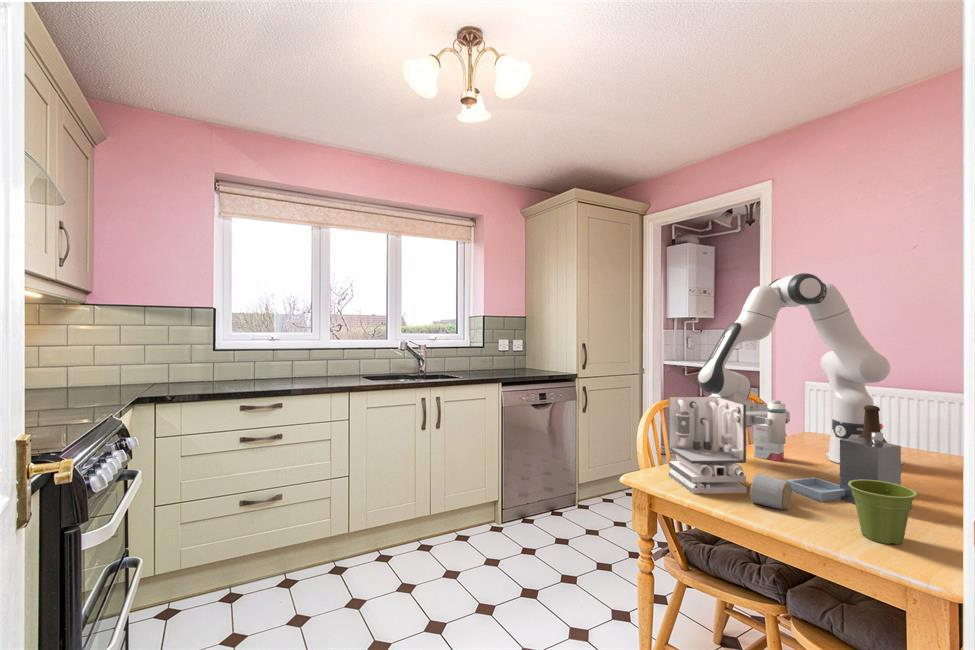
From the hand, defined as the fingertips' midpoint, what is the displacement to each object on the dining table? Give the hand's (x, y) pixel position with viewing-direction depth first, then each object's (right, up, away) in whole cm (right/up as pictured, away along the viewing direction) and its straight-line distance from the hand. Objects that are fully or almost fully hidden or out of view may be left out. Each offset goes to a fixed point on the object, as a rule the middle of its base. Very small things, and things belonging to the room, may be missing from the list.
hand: (778, 421), depth 148 cm
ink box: (+11, -18, +24) cm, 32 cm away
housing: (+13, -18, -19) cm, 29 cm away
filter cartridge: (0, -7, +1) cm, 7 cm away
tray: (+3, -18, -12) cm, 22 cm away
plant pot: (-2, -18, -41) cm, 45 cm away
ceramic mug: (-15, -18, -21) cm, 31 cm away
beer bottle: (+22, -18, -8) cm, 30 cm away
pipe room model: (-25, -18, -5) cm, 31 cm away
